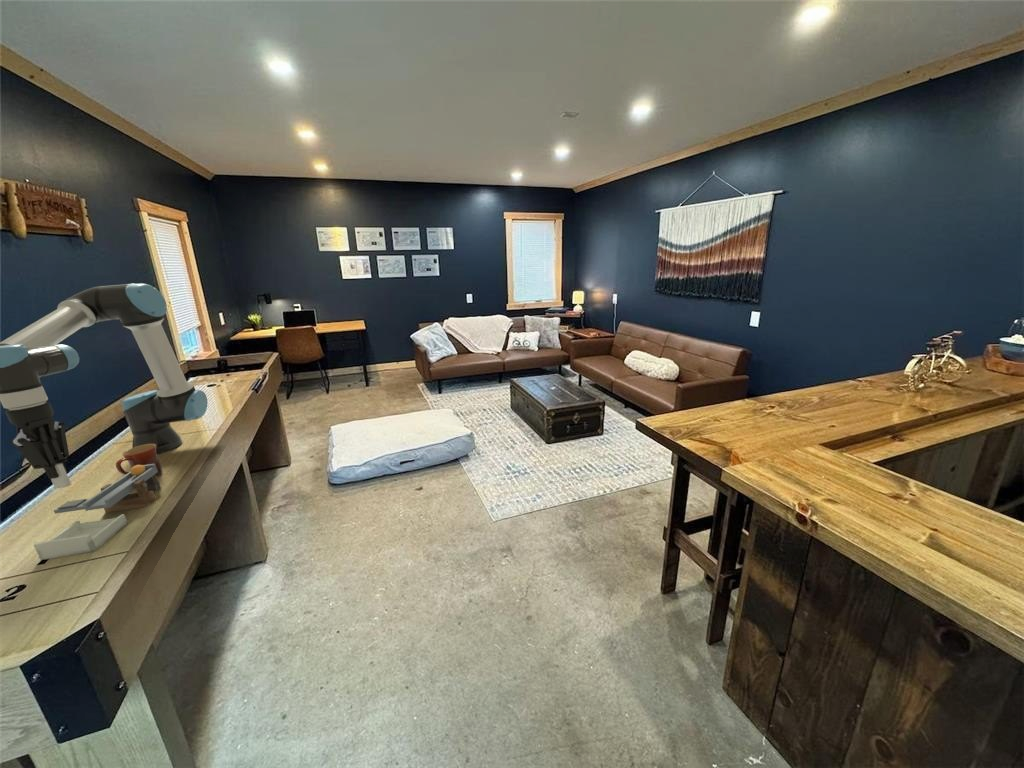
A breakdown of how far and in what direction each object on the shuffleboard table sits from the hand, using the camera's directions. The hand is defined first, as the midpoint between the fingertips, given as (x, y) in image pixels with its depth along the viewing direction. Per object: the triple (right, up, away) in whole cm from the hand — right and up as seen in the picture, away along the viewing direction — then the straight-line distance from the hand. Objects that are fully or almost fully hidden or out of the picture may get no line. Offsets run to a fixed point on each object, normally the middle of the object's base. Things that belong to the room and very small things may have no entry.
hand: (63, 486), depth 108 cm
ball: (+6, +1, +16) cm, 17 cm away
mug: (-4, -5, +28) cm, 29 cm away
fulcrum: (+7, -8, +15) cm, 18 cm away
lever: (+3, -4, +9) cm, 11 cm away
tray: (+10, -13, -4) cm, 17 cm away
